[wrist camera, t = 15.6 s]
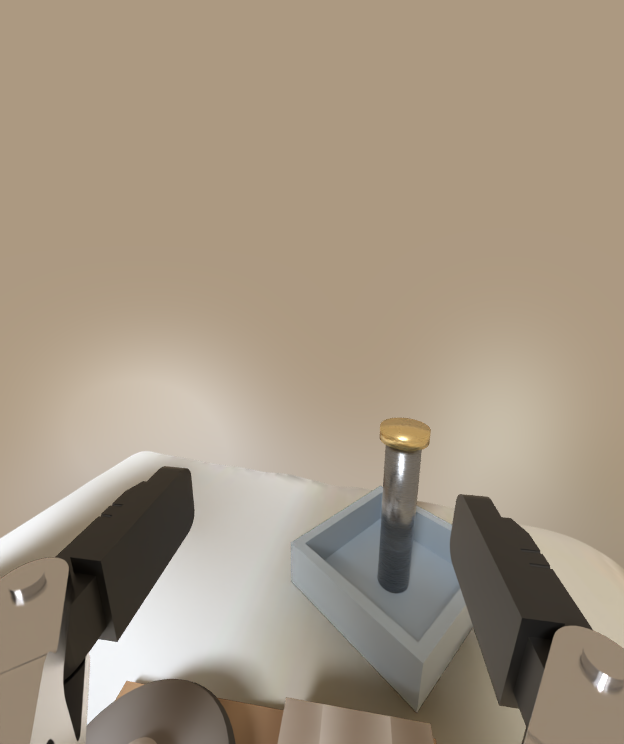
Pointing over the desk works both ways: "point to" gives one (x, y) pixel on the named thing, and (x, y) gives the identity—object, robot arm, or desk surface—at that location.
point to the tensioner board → (239, 720)
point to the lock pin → (399, 499)
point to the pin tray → (386, 594)
